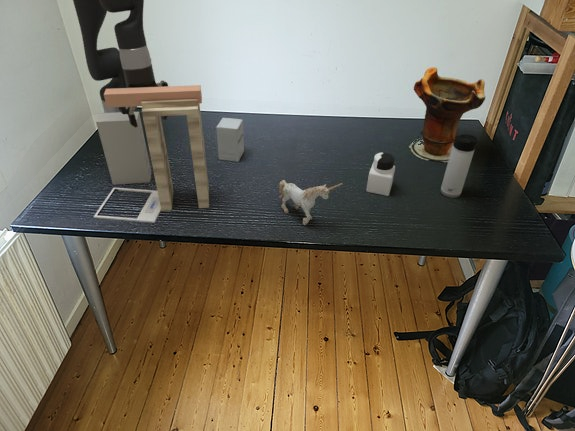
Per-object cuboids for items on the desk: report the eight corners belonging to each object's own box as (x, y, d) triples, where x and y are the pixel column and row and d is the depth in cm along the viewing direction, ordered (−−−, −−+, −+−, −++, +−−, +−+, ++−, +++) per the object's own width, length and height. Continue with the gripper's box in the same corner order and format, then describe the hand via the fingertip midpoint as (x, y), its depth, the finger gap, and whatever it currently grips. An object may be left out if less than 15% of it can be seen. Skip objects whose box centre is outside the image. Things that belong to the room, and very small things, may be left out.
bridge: (163, 191, 144) (144, 89, 123) (208, 188, 145) (197, 87, 124) (161, 210, 136) (140, 106, 115) (209, 207, 138) (197, 103, 117)
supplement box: (239, 162, 158) (237, 129, 150) (218, 159, 159) (215, 126, 151) (244, 151, 163) (243, 119, 155) (224, 149, 164) (222, 116, 156)
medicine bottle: (392, 184, 149) (398, 152, 141) (388, 196, 144) (394, 164, 136) (370, 179, 151) (375, 148, 143) (366, 191, 145) (370, 159, 138)
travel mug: (450, 200, 142) (467, 144, 130) (436, 189, 147) (451, 134, 134) (465, 195, 145) (483, 139, 132) (450, 184, 149) (467, 129, 137)
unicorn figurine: (328, 235, 129) (331, 197, 121) (268, 213, 136) (267, 176, 128) (338, 221, 134) (342, 183, 125) (280, 201, 141) (280, 164, 133)
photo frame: (154, 220, 131) (93, 216, 133) (154, 223, 132) (94, 219, 133) (169, 191, 143) (113, 186, 144) (170, 194, 143) (114, 189, 145)
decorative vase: (470, 170, 155) (490, 91, 138) (401, 160, 162) (412, 84, 145) (471, 141, 171) (489, 67, 154) (408, 133, 177) (419, 61, 160)
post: (115, 174, 150) (99, 113, 137) (151, 172, 152) (139, 111, 138) (112, 184, 146) (95, 121, 132) (149, 182, 148) (136, 120, 134)
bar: (109, 101, 120) (106, 88, 118) (201, 97, 123) (200, 85, 121) (106, 107, 118) (103, 94, 115) (201, 103, 120) (200, 90, 118)
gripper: (157, 56, 127) (168, 113, 135) (105, 66, 120) (121, 125, 129) (167, 61, 121) (178, 120, 130) (113, 72, 115) (129, 133, 124)
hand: (150, 122), depth 129 cm, fingers open, 8 cm apart
